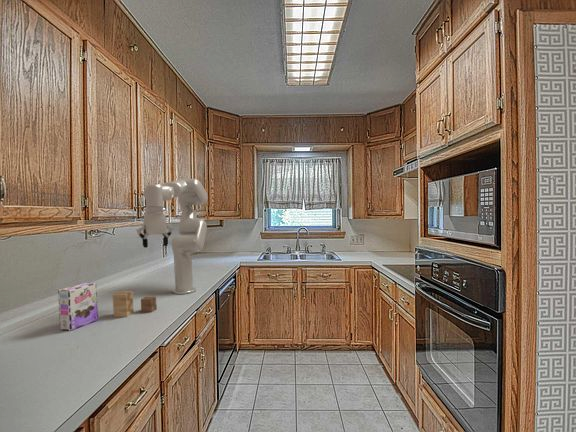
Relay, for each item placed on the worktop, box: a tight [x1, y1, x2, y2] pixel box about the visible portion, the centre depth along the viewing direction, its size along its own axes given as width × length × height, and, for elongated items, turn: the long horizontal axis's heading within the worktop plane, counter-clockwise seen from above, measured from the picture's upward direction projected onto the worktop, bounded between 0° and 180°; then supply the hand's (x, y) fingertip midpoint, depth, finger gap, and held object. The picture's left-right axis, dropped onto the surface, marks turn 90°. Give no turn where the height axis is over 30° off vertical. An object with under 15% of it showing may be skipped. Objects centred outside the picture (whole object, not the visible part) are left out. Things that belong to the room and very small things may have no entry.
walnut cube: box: [140, 296, 158, 313], centre depth 171 cm, size 5×5×6 cm
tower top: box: [112, 290, 134, 306], centre depth 166 cm, size 6×6×5 cm
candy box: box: [57, 282, 99, 332], centre depth 153 cm, size 14×6×16 cm, turn 161°
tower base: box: [112, 301, 135, 318], centre depth 166 cm, size 6×6×5 cm
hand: (155, 246), depth 176 cm, fingers open, 9 cm apart
